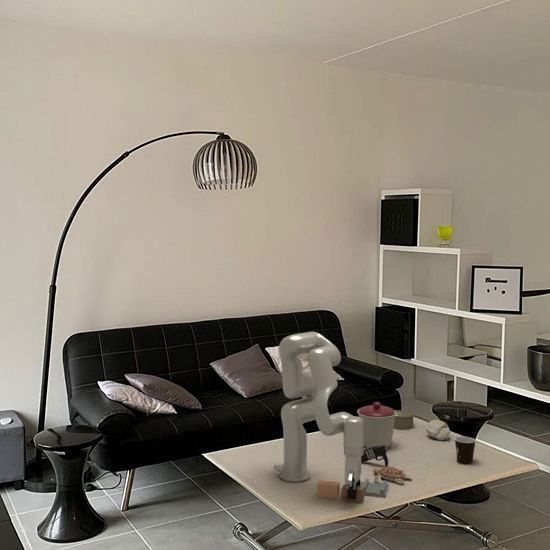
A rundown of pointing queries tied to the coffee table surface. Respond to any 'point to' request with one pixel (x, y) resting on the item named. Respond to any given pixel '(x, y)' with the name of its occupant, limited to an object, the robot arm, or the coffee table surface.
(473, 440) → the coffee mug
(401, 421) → the can
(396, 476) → the decorative turtle
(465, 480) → the coffee table surface
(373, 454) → the gun
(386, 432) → the canister
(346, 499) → the walnut bar
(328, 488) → the terracotta bar
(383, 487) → the slot rack
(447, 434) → the fossil replica
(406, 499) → the coffee table surface
